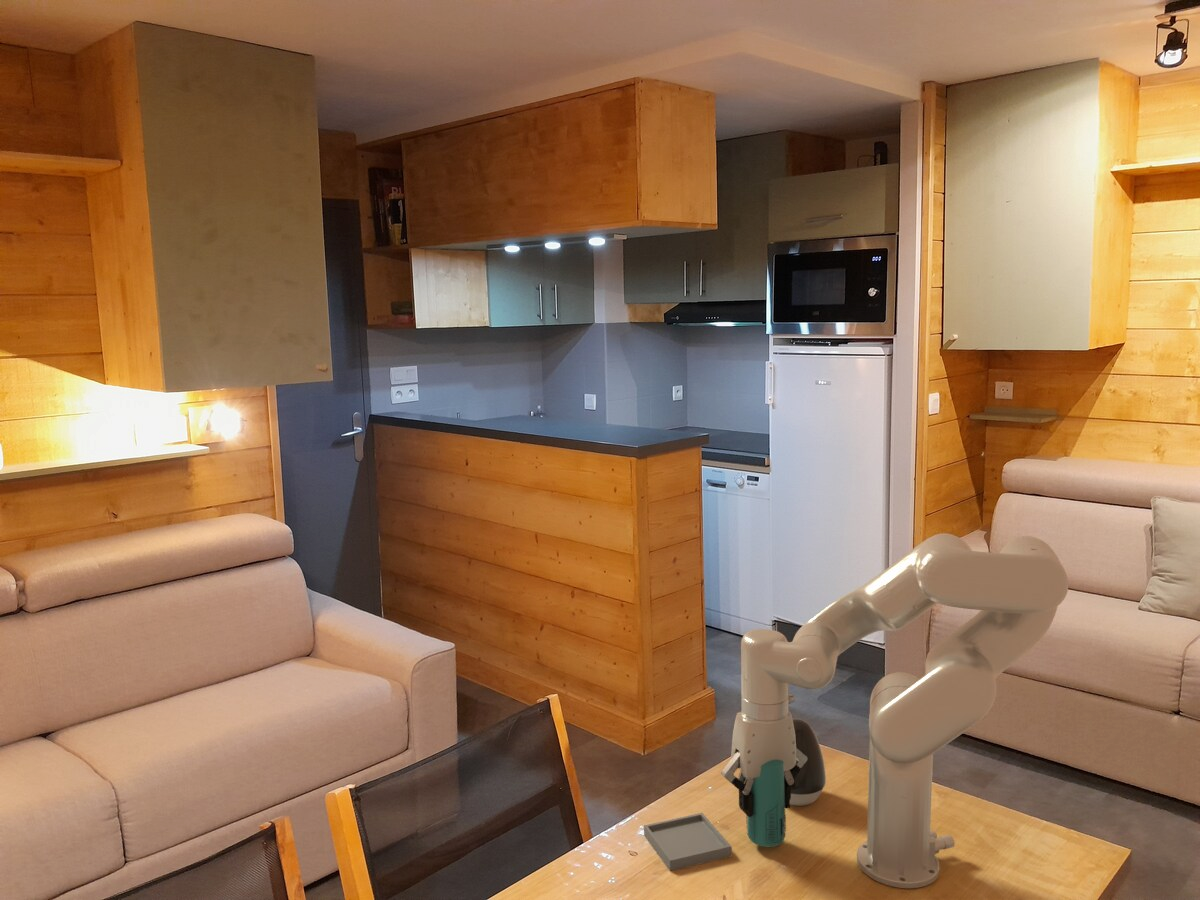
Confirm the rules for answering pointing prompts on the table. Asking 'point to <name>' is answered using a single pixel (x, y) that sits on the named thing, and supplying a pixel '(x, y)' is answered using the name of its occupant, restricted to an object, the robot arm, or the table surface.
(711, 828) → the tray
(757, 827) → the beverage bottle
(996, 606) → the robot arm
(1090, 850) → the table surface
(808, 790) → the pump dispenser
